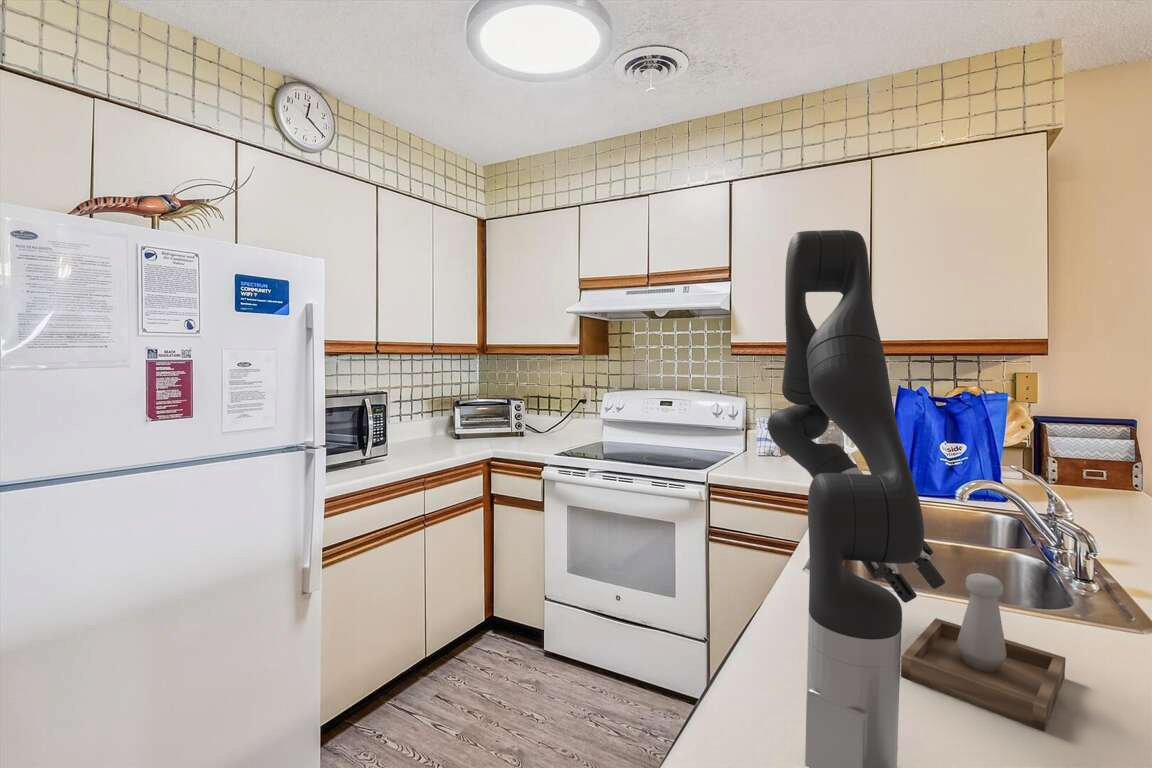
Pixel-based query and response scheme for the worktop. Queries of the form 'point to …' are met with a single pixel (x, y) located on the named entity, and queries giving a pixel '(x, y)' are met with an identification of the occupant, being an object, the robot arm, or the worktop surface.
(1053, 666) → the walnut tray
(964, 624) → the salt shaker
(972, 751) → the worktop surface
